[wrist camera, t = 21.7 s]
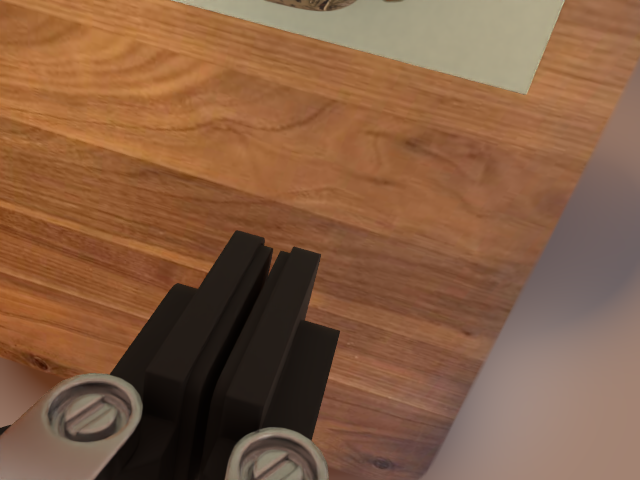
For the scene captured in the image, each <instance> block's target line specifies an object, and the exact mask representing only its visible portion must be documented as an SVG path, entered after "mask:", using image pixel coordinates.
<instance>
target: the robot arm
mask: <svg viewBox="0 0 640 480" xmlns="http://www.w3.org/2000/svg"><path fill="white" fill-rule="evenodd" d="M264 243H265V239H264V238H263V237H259V236H256V235H252V234H249V233H245V232H242V231H238V230H237V231H235V233H234V234H233V236H232V237H231V239H230V240H229V242H228V243H227V245H226V246H225V248H224V250H223V251H222V253H221V254H220V256H219V257H218V259H217V260H216V262H215V264H214V265H213V267H212V268H211V270H210V271H209V273H208V274H207V276H206V278H205V279H204V281H203V282H202V284H201V285H200V287H199V288H198V289H196V288H193V287H189V286H186V285H182V284H179V283H177V284H175V285H174V286H173V287H172V288H171V289H170V291H169V292H168V293H167V295H166V296H165V298H164V299H163V300H162V302H161V303H160V305H159V306H158V307H157V309H156V310H155V312H154V313H153V315H152V316H151V317H150V319H149V320H148V322H147V323H146V324H145V326H144V327H143V329H142V330H141V331H140V333H139V334H138V336H137V337H136V338H135V340H134V341H133V343H132V344H131V345H130V347H129V348H128V350H127V351H126V352H125V354H124V355H123V357H122V358H121V359H120V361H119V362H118V364H117V365H116V366H115V368H114V369H113V371H112V372H111V373H110V375H109V374H97V373H90V374H84V375H78V376H74V377H72V378H69V379H67V380H64V381H62V382H60V383H59V384H58V385H56V386H55V387H53V388H52V389H50V390H49V391H48V392H47V393H46V394H45V395H44V396H43V397H41V398H40V399H39V400H38V401H37V402H36V403H35V404H34V405H33V406H32V407H31V408H30V409H28V410H27V411H26V412H25V413H24V414H23V415H22V416H21V417H20V418H19V419H18V420H17V421H16V422H14V423H13V424H12V425H9V426H5V427H2V428H0V480H329V475H328V467H327V462H326V460H325V458H324V456H323V454H322V452H321V451H320V449H319V448H318V447H317V446H316V445H315V444H314V443H313V442H312V441H311V440H312V437H313V433H314V429H315V425H316V421H317V418H318V414H319V410H320V406H321V402H322V398H323V395H324V391H325V387H326V383H327V379H328V376H329V372H330V368H331V364H332V360H333V357H334V353H335V349H336V345H337V341H338V337H339V334H340V331H339V330H335V329H332V328H328V327H325V326H322V325H318V324H315V323H311V322H308V321H305V317H306V313H307V309H308V305H309V301H310V297H311V293H312V289H313V285H314V282H315V278H316V274H317V270H318V266H319V262H320V257H321V254H318V253H315V252H311V251H308V250H304V249H301V248H297V247H293V249H292V251H291V253H288V252H284V251H280V253H279V255H278V257H277V259H276V261H275V263H274V265H273V267H272V269H271V271H270V274H269V269H270V264H271V259H272V253H273V248H270V247H267V246H264ZM268 274H269V276H268Z"/></svg>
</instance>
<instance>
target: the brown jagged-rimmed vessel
mask: <svg viewBox="0 0 640 480" xmlns="http://www.w3.org/2000/svg"><path fill="white" fill-rule="evenodd" d="M265 1H268V2H272V3H276V4H280V5H284V6H289V7H293V8H298V9H304V10H311V11H334V10H338V9H342V8H345V7H347V6H349V5H351V4H353V3H354V2H356V1H357V0H265ZM382 1H384V2H386V3H397V2H402V1H404V0H382Z"/></svg>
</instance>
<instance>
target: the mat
mask: <svg viewBox="0 0 640 480" xmlns="http://www.w3.org/2000/svg"><path fill="white" fill-rule="evenodd" d="M172 1H176V2H180V3H183V4H187V5H191V6H195V7H198V8H202V9H206V10H210V11H213V12H217V13H221V14H225V15H228V16H232V17H236V18H239V19H243V20H247V21H251V22H254V23H258V24H262V25H266V26H269V27H273V28H277V29H281V30H284V31H288V32H292V33H296V34H299V35H303V36H307V37H311V38H314V39H318V40H322V41H326V42H329V43H333V44H337V45H341V46H344V47H348V48H352V49H356V50H359V51H363V52H367V53H371V54H374V55H378V56H382V57H385V58H389V59H393V60H397V61H400V62H404V63H408V64H412V65H415V66H419V67H423V68H427V69H430V70H434V71H438V72H442V73H445V74H449V75H453V76H457V77H460V78H464V79H468V80H472V81H475V82H479V83H483V84H487V85H490V86H494V87H498V88H502V89H505V90H509V91H513V92H517V93H520V94H524V95H526V94H527V92H528V90H529V87H530V85H531V82H532V80H533V77H534V75H535V73H536V70H537V68H538V65H539V63H540V60H541V58H542V55H543V53H544V50H545V48H546V46H547V43H548V41H549V38H550V36H551V33H552V31H553V28H554V26H555V23H556V21H557V19H558V16H559V14H560V11H561V9H562V6H563V4H564V1H565V0H404V1H402V2H397V3H386V2H384V1H382V0H357V1H356V2H354V3H353V4H351V5H349V6H347V7H345V8H342V9H338V10H334V11H311V10H304V9H298V8H293V7H289V6H284V5H280V4H276V3H272V2H268V1H265V0H172Z"/></svg>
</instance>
